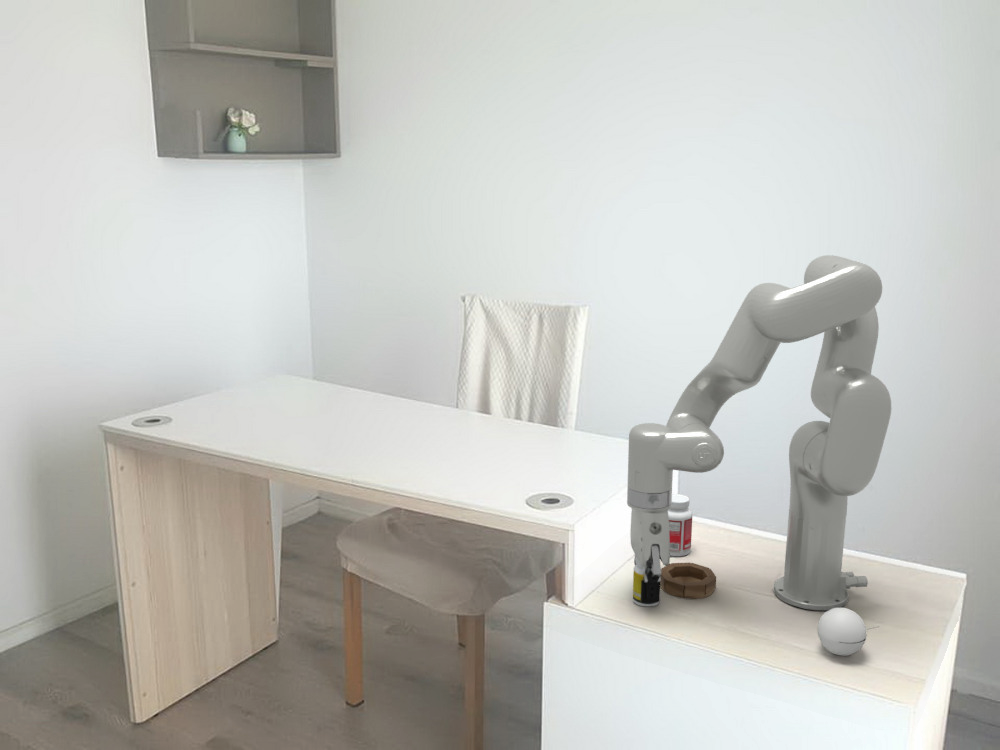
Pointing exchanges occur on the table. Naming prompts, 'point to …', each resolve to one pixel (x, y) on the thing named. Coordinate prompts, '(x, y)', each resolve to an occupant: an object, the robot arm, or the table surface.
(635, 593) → the supplement bottle
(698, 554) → the table surface
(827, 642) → the white sphere
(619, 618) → the table surface
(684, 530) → the pill bottle
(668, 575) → the holder
